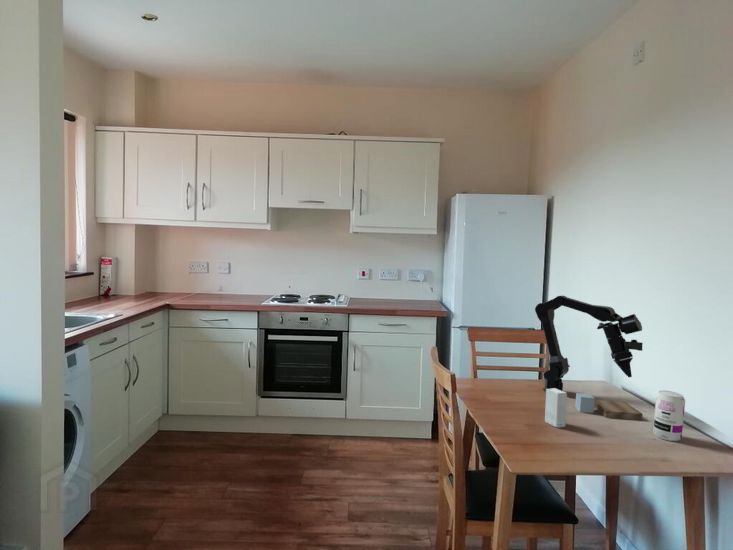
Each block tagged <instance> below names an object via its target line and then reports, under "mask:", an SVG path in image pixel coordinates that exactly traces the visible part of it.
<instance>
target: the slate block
mask: <svg viewBox="0 0 733 550" xmlns="http://www.w3.org/2000/svg"><path fill="white" fill-rule="evenodd" d="M594 400H596V399H595V397H594V396H593V395H591V394H590V393H580V392H578V393H577V392H575V406H574V409H575V410H577V411H578V412H579V413H585V414H594V409H595V408H594Z"/></svg>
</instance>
